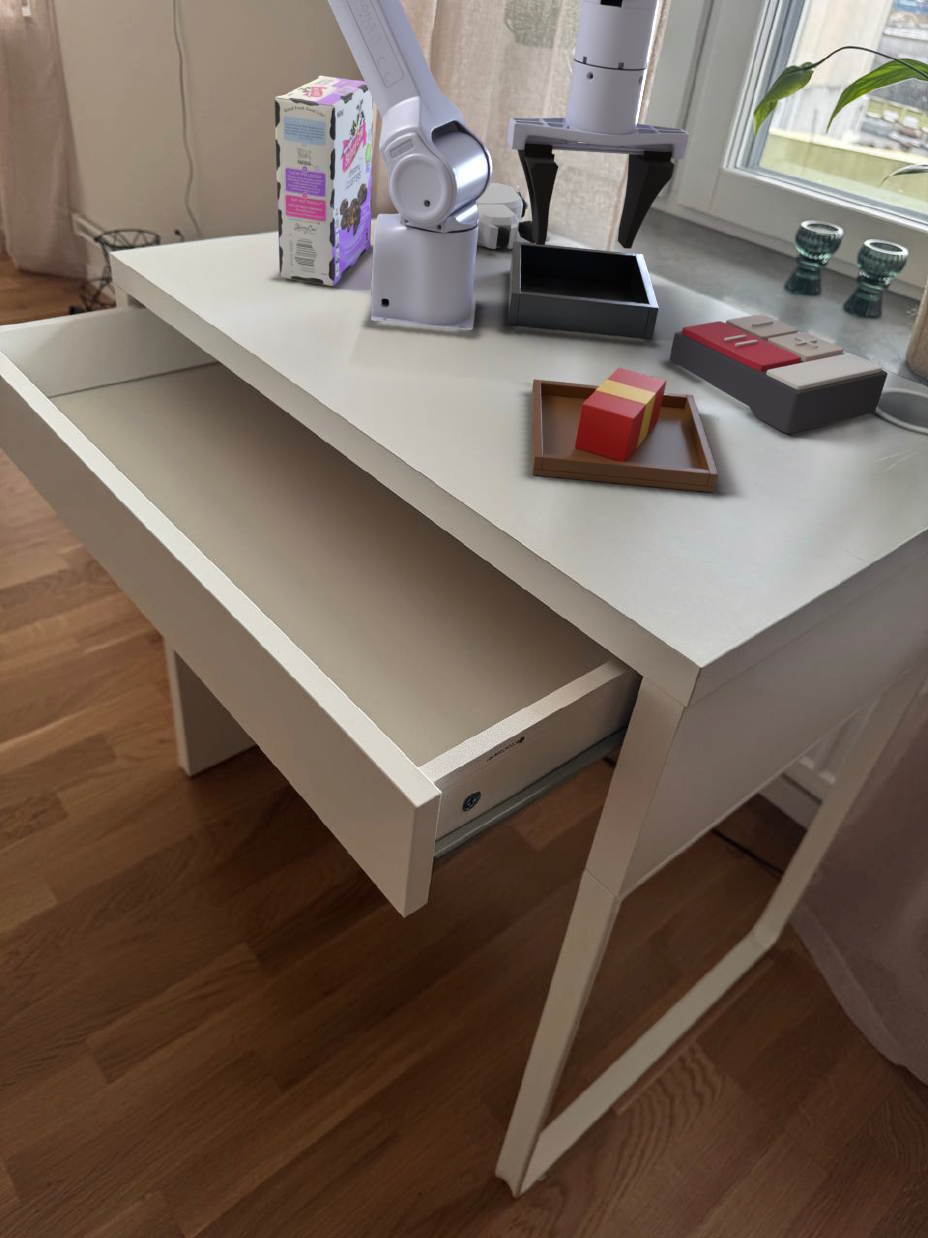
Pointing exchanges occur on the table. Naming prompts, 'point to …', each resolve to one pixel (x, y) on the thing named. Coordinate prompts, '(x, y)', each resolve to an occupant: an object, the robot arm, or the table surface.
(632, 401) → the red yellow banded block
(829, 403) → the calculator
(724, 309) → the table surface
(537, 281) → the dark grey open bin
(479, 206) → the robot toy
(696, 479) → the tray
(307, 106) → the candy box
